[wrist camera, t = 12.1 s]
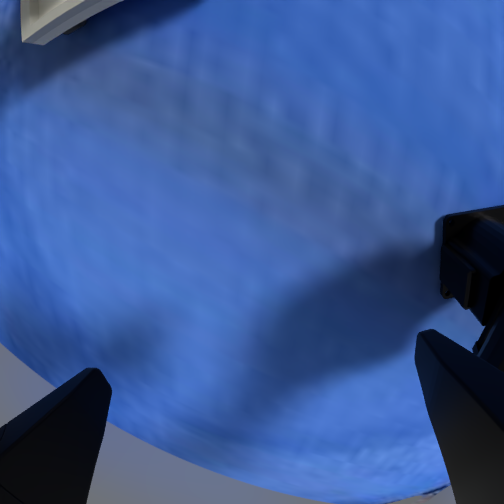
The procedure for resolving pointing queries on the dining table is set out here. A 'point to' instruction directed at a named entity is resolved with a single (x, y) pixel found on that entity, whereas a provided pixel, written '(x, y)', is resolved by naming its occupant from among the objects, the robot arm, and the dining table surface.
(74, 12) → the white square tray
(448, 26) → the dining table surface
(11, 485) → the robot arm
